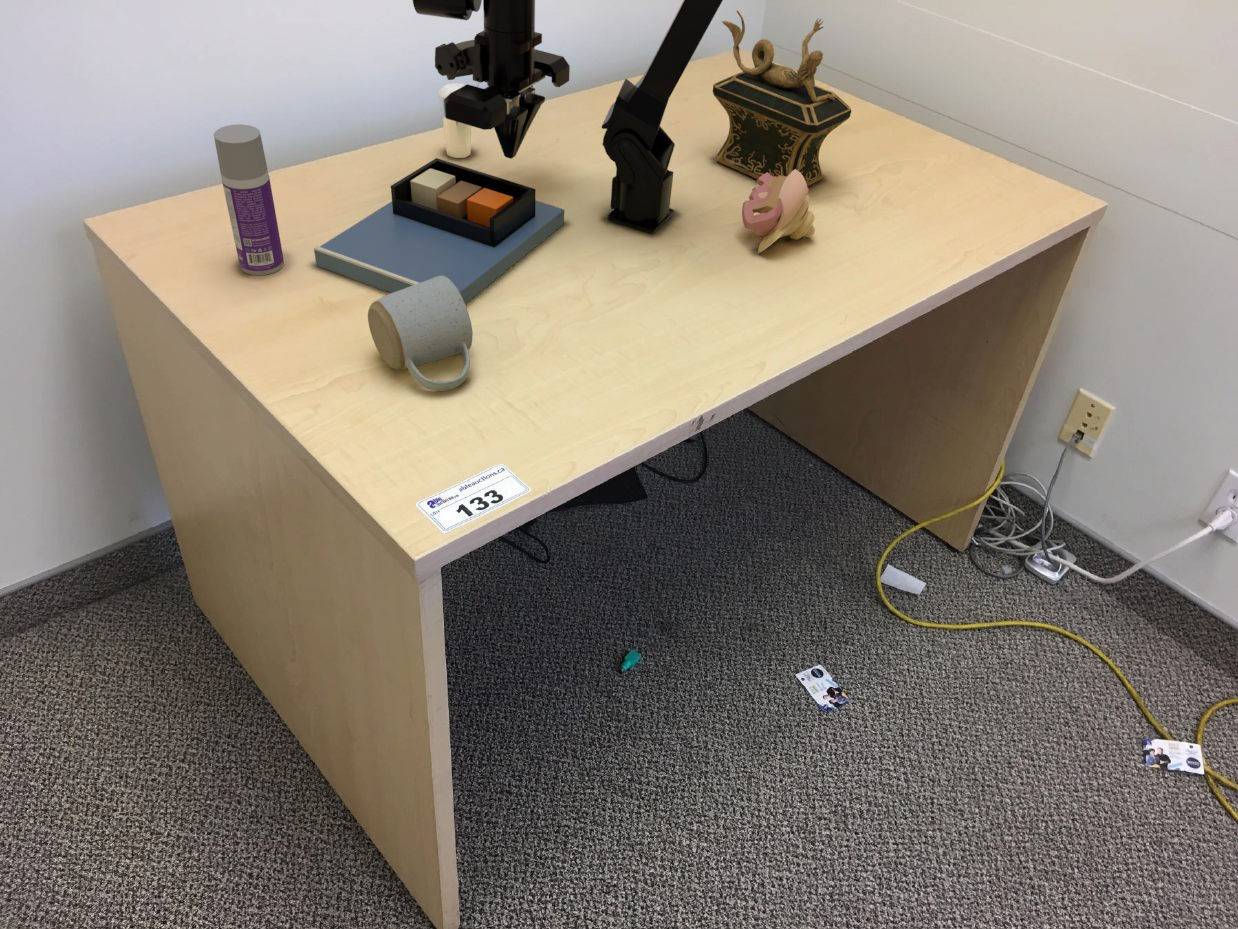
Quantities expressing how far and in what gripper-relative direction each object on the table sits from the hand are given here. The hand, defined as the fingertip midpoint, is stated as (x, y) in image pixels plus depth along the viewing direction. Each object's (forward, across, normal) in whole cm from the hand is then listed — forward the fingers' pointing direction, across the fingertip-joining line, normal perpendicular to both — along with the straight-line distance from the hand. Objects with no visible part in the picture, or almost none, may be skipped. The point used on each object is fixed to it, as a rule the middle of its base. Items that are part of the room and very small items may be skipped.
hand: (509, 156), depth 122 cm
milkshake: (+6, -7, -12) cm, 15 cm away
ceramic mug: (+6, +34, +12) cm, 36 cm away
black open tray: (+4, +10, 0) cm, 11 cm away
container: (+6, +29, -14) cm, 33 cm away
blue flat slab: (+6, +14, 0) cm, 15 cm away
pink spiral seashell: (+6, -9, +32) cm, 34 cm away
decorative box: (+6, -28, +23) cm, 37 cm away
